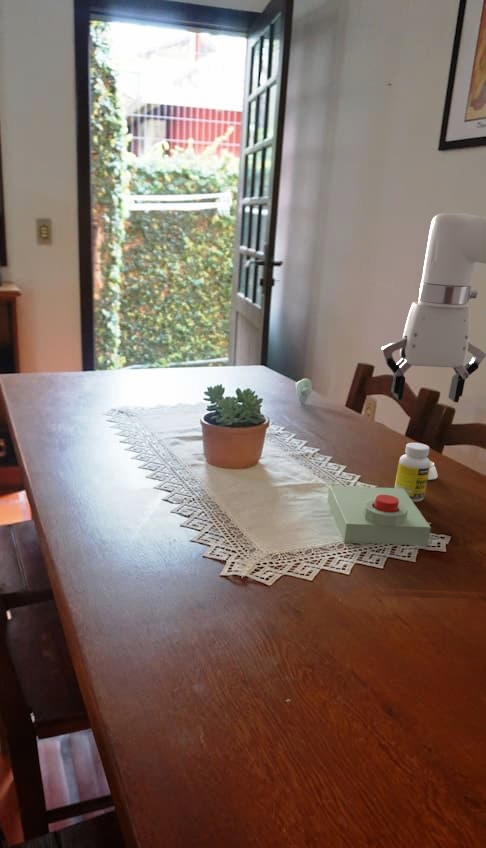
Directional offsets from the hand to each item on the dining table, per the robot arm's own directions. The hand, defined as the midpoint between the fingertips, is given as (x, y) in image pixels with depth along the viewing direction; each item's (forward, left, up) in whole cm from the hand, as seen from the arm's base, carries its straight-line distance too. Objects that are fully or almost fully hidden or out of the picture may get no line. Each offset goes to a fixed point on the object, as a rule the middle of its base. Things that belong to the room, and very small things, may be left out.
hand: (425, 399), depth 117 cm
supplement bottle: (0, 0, -18) cm, 18 cm away
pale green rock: (+11, -64, -18) cm, 68 cm away
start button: (+9, +17, -14) cm, 24 cm away
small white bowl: (-6, -11, -18) cm, 22 cm away
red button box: (+9, +12, -18) cm, 24 cm away
